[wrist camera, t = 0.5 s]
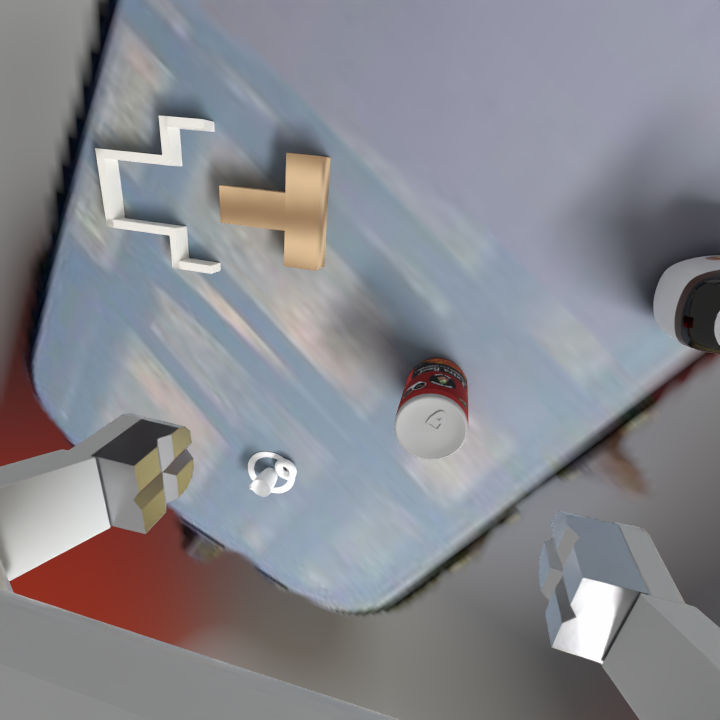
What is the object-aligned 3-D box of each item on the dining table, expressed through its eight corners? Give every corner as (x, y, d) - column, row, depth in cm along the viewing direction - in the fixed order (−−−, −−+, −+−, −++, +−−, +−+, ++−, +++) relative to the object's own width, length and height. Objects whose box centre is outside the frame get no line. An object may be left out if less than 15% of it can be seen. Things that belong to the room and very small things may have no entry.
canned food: (476, 365, 51) (478, 409, 42) (456, 418, 55) (453, 470, 45) (416, 348, 52) (404, 386, 42) (400, 401, 56) (386, 448, 46)
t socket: (104, 112, 50) (89, 109, 48) (214, 122, 47) (203, 119, 45) (124, 255, 57) (111, 258, 55) (220, 270, 54) (211, 273, 52)
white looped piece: (298, 453, 64) (287, 469, 60) (302, 494, 67) (293, 512, 63) (245, 447, 66) (233, 462, 62) (252, 487, 69) (241, 505, 65)
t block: (231, 148, 48) (217, 145, 45) (330, 157, 46) (322, 156, 43) (234, 253, 53) (222, 256, 50) (324, 266, 51) (316, 270, 48)
